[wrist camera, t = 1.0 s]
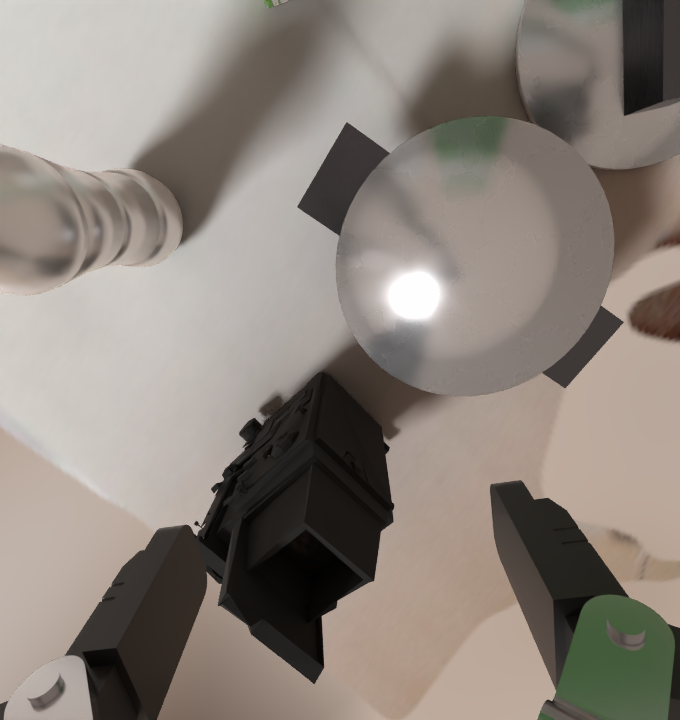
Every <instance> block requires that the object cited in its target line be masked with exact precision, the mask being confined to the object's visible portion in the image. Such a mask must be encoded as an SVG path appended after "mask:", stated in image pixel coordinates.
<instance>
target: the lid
mask: <svg viewBox="0 0 680 720" xmlns="http://www.w3.org/2000/svg"><path fill="white" fill-rule="evenodd" d="M515 71H516V78H517V85H518V89H519V93H520V97H521V101H522V104H523V106H524V108H525V111H526V113H527V116H528V118H529V119H530V121H531V123H532V124H535V125H537V126H539V127H541V128H543V129H546V130H548V131H550V132H552V133H553V134H555V135H556V136H558V137H559V138H561V139H562V140H564V141H565V142H567V143H568V144H569V145H570V146H571V147H572V148H573V149H574V150H576V151H577V152H578V153H579V154H580V155H581V156H582V157H583V159H584V160H585V161H586V162H587V164H588V165H589V166H590V167H591V168H595V169H603V170H626V169H632V168H639V167H644V166H648V165H652V164H655V163H659V162H662V161H664V160H667V159H669V158H672V157H674V156H676V155H678V154H680V0H525V3H524V6H523V9H522V13H521V16H520V21H519V26H518V30H517V37H516V47H515Z"/></svg>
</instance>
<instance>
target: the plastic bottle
mask: <svg viewBox="0 0 680 720" xmlns="http://www.w3.org/2000/svg"><path fill="white" fill-rule="evenodd" d="M182 233H183V217H182V213H181V209H180V207H179V205H178V202H177V200H176V199H175V197H174V196H173V194H172V193H171V192H170V191H169V189H168V188H167V187H166V186H165V185H163V184H162V183H161V182H159V181H158V180H156V179H155V178H153V177H151V176H150V175H148V174H146V173H144V172H141V171H138V170H135V169H126V168H124V169H114V170H107V171H103V172H84V171H80V170H75V169H71V168H67V167H63V166H60V165H58V164H55V163H53V162H50V161H48V160H45V159H43V158H40V157H38V156H35V155H32V154H30V153H28V152H25V151H21V150H18V149H15V148H11V147H7V146H4V145H0V292H1V293H8V294H16V295H35V294H41V293H43V292H46V291H49V290H51V289H54V288H57V287H60V286H62V285H63V284H65V283H67V282H69V281H71V280H73V279H75V278H77V277H79V276H81V275H83V274H85V273H86V272H89V271H92V270H95V269H98V268H101V267H104V266H114V265H122V266H130V267H147V266H152V265H155V264H158V263H160V262H161V261H163V260H164V259H166V258H167V257H168V256H170V255H171V254H172V253H173V252H174V251H175V250H176V248H177V246H178V245H179V243H180V240H181V237H182Z"/></svg>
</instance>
